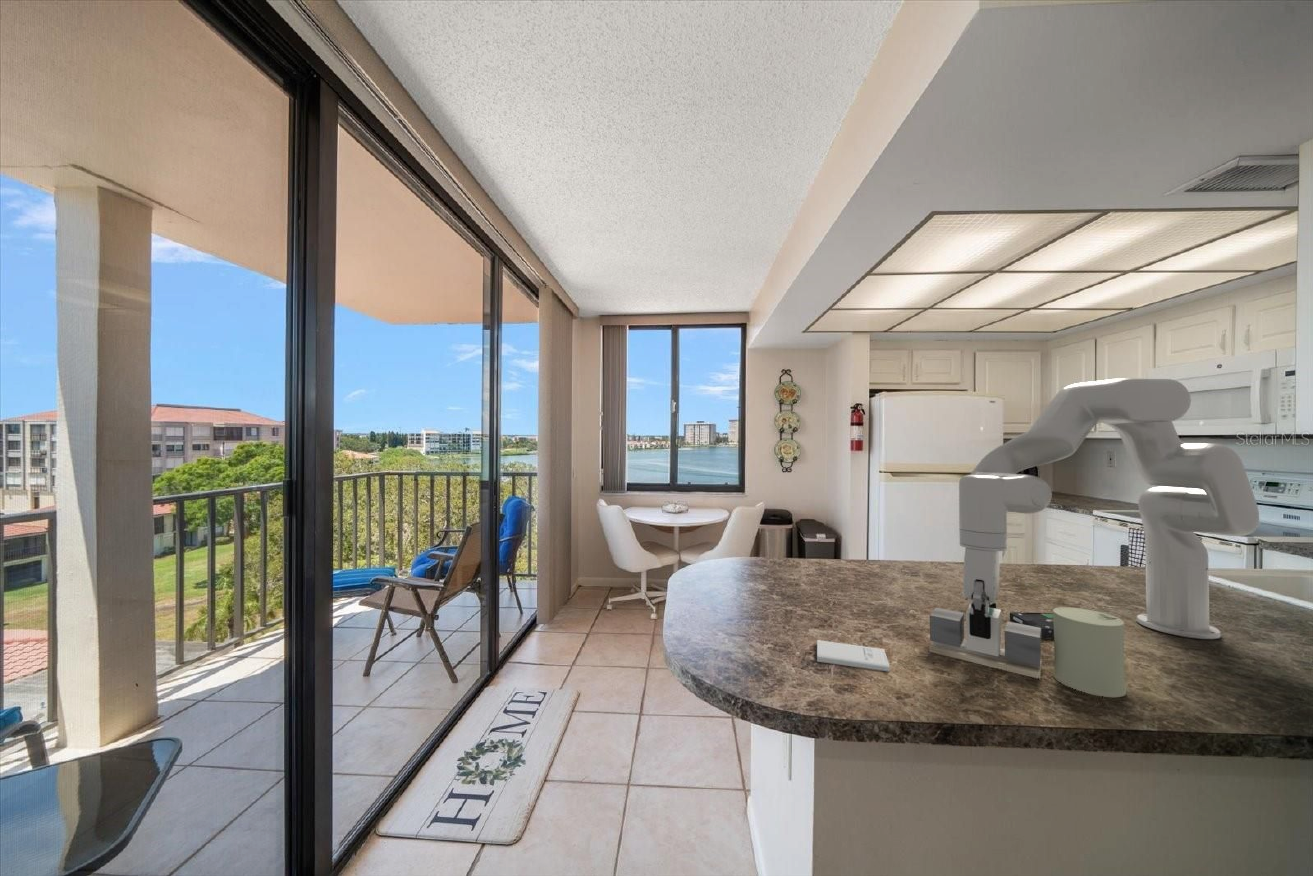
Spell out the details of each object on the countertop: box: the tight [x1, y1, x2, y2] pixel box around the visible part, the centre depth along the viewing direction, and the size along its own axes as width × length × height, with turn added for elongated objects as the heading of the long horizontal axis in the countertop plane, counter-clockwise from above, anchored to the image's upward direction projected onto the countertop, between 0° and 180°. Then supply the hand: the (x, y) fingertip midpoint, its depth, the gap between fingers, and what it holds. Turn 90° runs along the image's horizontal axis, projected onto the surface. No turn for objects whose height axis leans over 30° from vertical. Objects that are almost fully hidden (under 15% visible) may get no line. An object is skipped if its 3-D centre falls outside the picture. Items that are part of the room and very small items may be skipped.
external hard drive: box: [816, 639, 891, 672], centre depth 91 cm, size 2×8×12 cm
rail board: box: [929, 607, 1042, 680], centre depth 91 cm, size 7×17×7 cm, turn 50°
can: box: [1052, 606, 1127, 698], centre depth 81 cm, size 9×9×12 cm
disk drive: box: [1009, 611, 1054, 640], centre depth 105 cm, size 10×3×15 cm
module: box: [965, 603, 1003, 656], centre depth 91 cm, size 6×5×7 cm
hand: (983, 629), depth 91 cm, fingers open, 9 cm apart
